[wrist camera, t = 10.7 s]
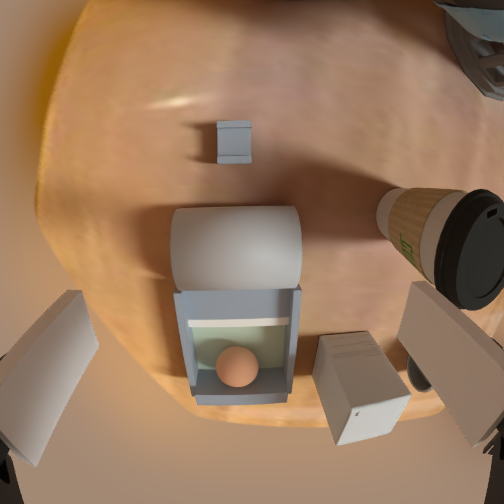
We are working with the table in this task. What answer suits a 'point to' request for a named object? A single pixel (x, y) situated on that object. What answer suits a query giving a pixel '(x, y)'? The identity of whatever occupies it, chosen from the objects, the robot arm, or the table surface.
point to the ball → (237, 366)
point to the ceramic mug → (417, 376)
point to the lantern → (478, 58)
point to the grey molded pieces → (237, 287)
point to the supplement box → (357, 387)
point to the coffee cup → (449, 239)
